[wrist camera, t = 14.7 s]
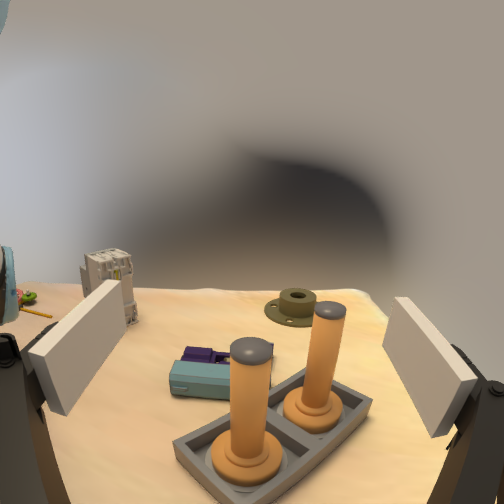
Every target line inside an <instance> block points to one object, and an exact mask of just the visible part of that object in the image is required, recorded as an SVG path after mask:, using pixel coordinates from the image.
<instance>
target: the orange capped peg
mask: <svg viewBox="0 0 504 504" xmlns="http://www.w3.org/2000/svg"><path fill="white" fill-rule="evenodd" d="M345 315H346V307H345V306H344V305H342V304H340V303H337V302H332V301H322V302H318V303H317V304H315V308H314V316H313V324H312V331H311V339H310V346H309V352H308V359H307V365H306V372H305V378H304V384H303V387H299V388H296V389H294V390H292V391H290V392H289V393H288V394H287V395H286V397H285V399H284V405H283V413H282V414H283V417H284V418H286V419H287V420H289V421H290V422H292V423H293V424H295V425H296V426H298V427H300V428H301V429H303V430H304V431H306V432H308V433H309V434H321V433H325V432H328V431H330V430H331V429H333V428H334V427H335V426H336V425H337V424H338V422H339V419H340V416H341V412H342V408H343V405H342V401H341V399H340V398H339V396H338V395H337V394H335V393H334V392H332V391H331V385H332V381H333V377H334V372H335V367H336V363H337V358H338V353H339V348H340V343H341V337H342V332H343V327H344V321H345Z"/></svg>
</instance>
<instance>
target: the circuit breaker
mask: <svg viewBox="0 0 504 504" xmlns="http://www.w3.org/2000/svg"><path fill="white" fill-rule="evenodd" d="M84 256H85V265H83V266H80V273H81V280H82V287H83V294H84V297H85V298H86V297H87V296H89V295H90V294H91V293H92V292H93V291H94V290H95V289H97V288H98V287H99V286H100V285H101V284H102V283H104V282H105V281H106V280H107V279H109V280H118V281H121V287H122V296H123V304H124V312H125V320H126V326H129V325H132V324H135V323H137V322H139V321H138V320H137V317H136V316H138V313H137V305H136V302H135V301H134V296H133V286H132V275H133V264H132V262H130V257H131V255H129V254H128V253H126V252H123V251H121V250H119V249H117V248H111V249H106V250H102V251H97V252H92V253H88V254H84ZM130 268H131V271H130ZM134 310H135V312H134ZM132 321H133V322H132Z"/></svg>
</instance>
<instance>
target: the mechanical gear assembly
mask: <svg viewBox="0 0 504 504" xmlns="http://www.w3.org/2000/svg"><path fill="white" fill-rule="evenodd" d="M26 291H27V294H23V291H21V290H19V289H16V292H18V293H17V295H19V294H20V297H19V298H18V306H19V311H20V310H22V311H26V312H29V313H33V314H37V315H41V316H44V317H48V318H52V316H51V315H47V314H43V313H39V312H36V311H32V310H28V309H24V308H23V305H21V304H23V303H24V302H26V301H30V300H31V301H32V300H33V299H35V298H36V297H37V295H36V293H33V292H32V293H31V292H30V293H29V290H26Z"/></svg>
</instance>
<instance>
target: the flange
mask: <svg viewBox="0 0 504 504" xmlns="http://www.w3.org/2000/svg"><path fill="white" fill-rule="evenodd" d="M317 303H318V302H316V295H315V294H314V293H313V292H311V291H309V290H305V289H299V288H291V289H285V290H283V291H281V292H280V298H278V299H274V300H272V301H270V302H268V303H267V304H266V305H265V309H264V312H265V314H266V316H267V317H268V318H269V319H270V320H272V321H274V322H276V323H278V324H281V325H285V326H290V327H312V324H313V316H314V308H315V304H317ZM271 306H277V307H271ZM287 320H291V321H293V322H287Z"/></svg>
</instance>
